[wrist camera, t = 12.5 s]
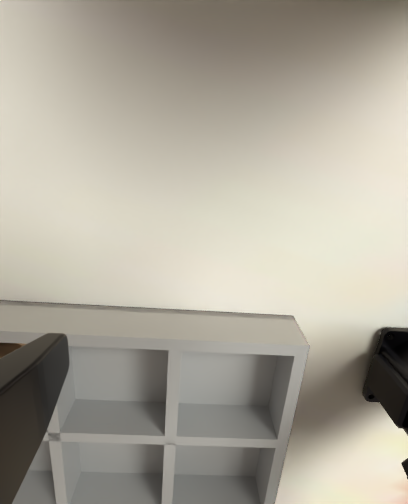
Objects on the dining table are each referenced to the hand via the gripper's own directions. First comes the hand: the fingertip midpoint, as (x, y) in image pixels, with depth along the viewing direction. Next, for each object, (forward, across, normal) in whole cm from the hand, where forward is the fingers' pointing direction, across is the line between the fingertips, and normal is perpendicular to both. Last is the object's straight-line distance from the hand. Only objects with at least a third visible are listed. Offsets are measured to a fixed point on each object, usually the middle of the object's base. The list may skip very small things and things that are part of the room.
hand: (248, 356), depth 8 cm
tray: (+13, +6, +14) cm, 20 cm away
